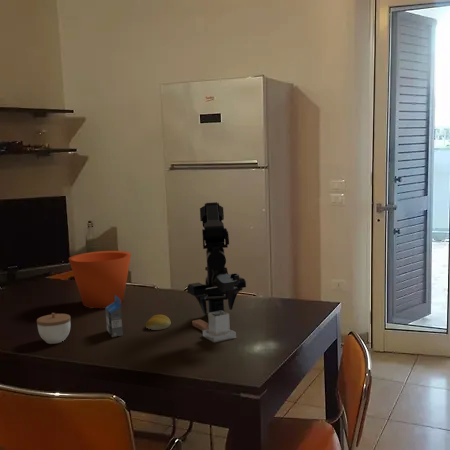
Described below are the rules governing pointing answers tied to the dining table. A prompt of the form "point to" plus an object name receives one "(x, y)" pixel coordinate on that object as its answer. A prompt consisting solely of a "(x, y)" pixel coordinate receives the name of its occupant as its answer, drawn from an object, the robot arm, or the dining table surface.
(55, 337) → the lidded jar
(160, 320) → the bread roll
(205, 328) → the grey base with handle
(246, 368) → the dining table surface
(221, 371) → the dining table surface
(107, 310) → the grey and blue box
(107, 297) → the flowerpot
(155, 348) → the dining table surface
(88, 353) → the dining table surface
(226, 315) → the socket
